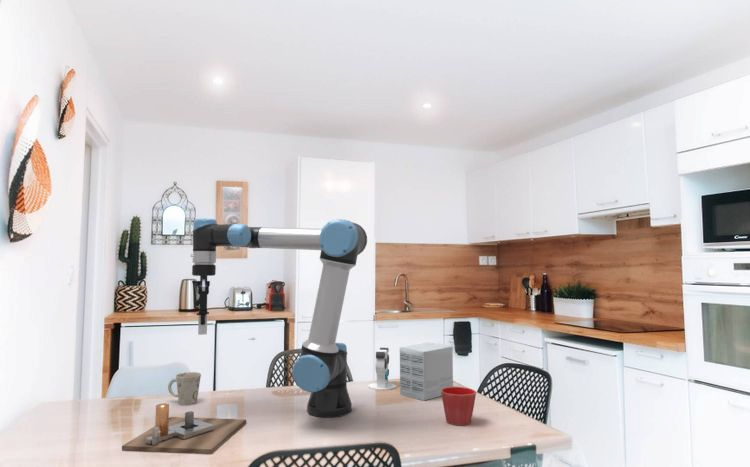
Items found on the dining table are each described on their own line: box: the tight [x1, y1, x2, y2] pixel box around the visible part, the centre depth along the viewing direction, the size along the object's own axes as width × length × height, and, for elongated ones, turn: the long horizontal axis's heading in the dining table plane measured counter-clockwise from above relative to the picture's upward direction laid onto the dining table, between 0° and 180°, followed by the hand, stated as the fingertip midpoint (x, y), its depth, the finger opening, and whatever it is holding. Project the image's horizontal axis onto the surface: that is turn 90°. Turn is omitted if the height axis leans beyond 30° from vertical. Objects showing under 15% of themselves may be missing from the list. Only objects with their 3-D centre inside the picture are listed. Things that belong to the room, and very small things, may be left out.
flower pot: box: [441, 386, 477, 426], centre depth 154 cm, size 11×11×10 cm
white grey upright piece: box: [368, 347, 397, 391], centre depth 199 cm, size 12×11×15 cm
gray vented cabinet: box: [399, 342, 454, 402], centre depth 188 cm, size 17×13×18 cm
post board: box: [121, 410, 247, 455], centre depth 141 cm, size 25×25×7 cm
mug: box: [167, 371, 202, 406], centre depth 176 cm, size 8×13×10 cm, turn 78°
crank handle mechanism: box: [145, 402, 214, 444], centre depth 138 cm, size 18×10×9 cm, turn 144°
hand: (202, 334), depth 163 cm, fingers closed
